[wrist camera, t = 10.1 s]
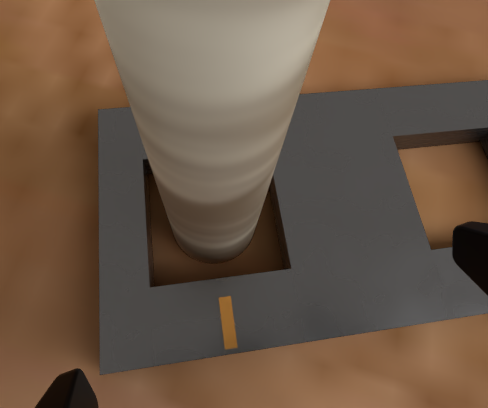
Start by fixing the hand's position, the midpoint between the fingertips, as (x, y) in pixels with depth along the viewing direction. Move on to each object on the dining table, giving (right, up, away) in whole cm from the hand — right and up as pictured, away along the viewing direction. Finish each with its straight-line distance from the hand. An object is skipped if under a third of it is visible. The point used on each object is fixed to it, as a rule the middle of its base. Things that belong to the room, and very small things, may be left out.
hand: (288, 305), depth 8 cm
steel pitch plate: (+8, +3, +11) cm, 14 cm away
